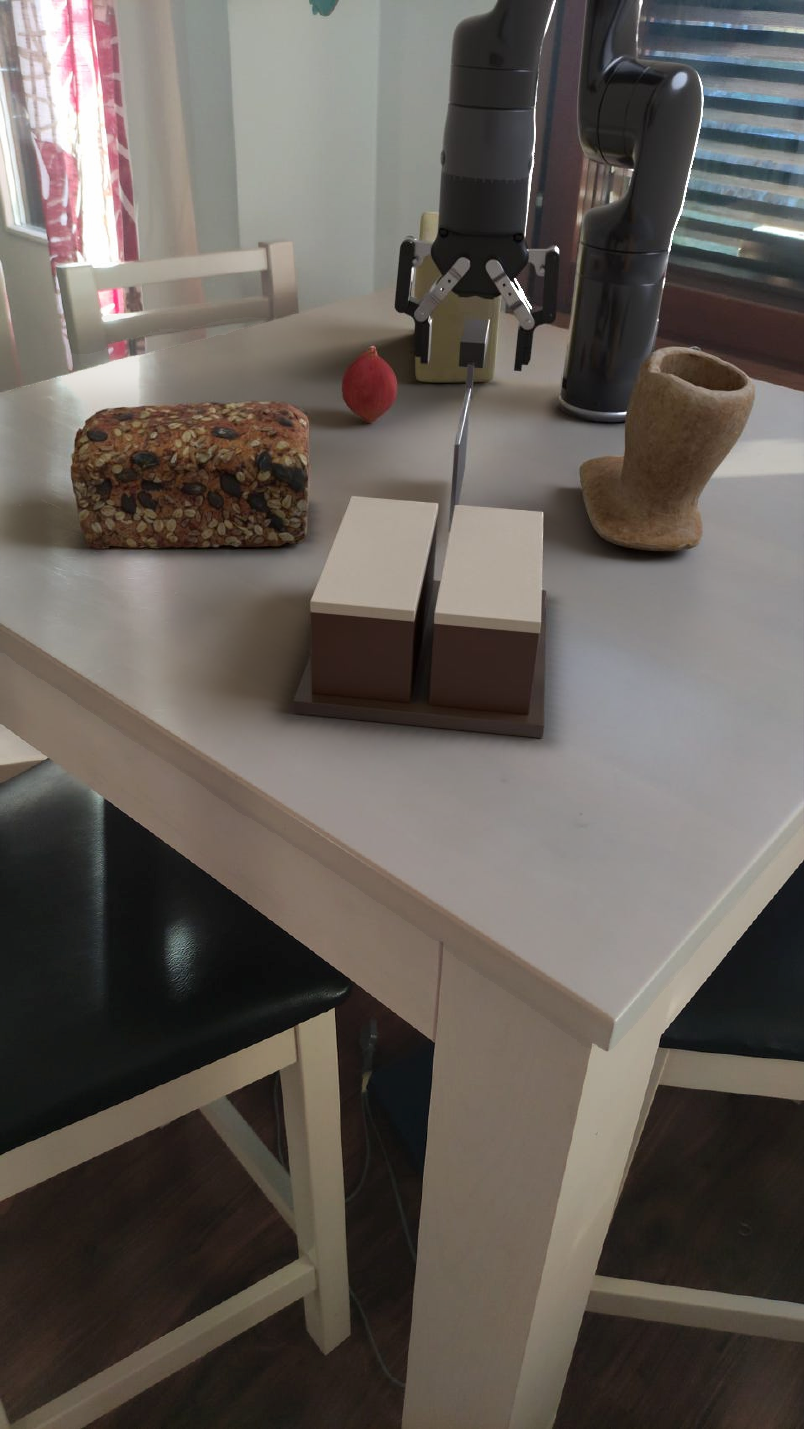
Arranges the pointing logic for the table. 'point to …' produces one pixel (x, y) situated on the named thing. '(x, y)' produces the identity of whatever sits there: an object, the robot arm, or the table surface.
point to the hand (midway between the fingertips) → (471, 365)
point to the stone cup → (667, 450)
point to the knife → (467, 396)
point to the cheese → (451, 321)
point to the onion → (369, 386)
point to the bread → (193, 475)
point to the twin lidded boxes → (430, 620)
